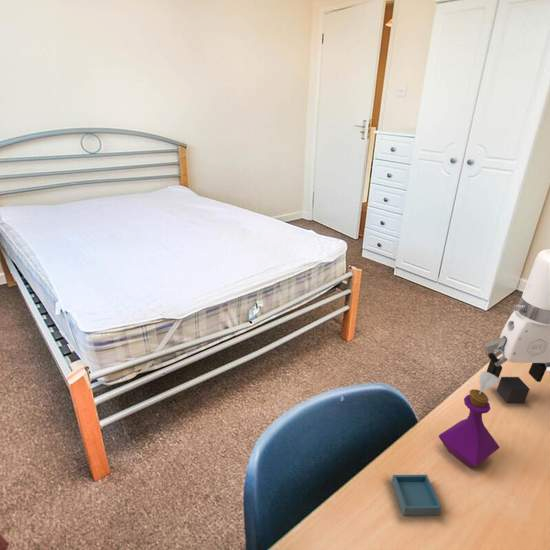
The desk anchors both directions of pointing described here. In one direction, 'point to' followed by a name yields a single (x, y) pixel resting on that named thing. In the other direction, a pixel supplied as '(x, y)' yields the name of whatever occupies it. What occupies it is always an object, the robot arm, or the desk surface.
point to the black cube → (513, 389)
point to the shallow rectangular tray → (415, 495)
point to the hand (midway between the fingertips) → (512, 377)
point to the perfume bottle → (472, 428)
